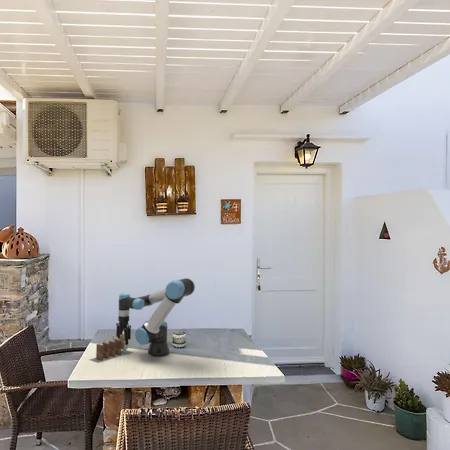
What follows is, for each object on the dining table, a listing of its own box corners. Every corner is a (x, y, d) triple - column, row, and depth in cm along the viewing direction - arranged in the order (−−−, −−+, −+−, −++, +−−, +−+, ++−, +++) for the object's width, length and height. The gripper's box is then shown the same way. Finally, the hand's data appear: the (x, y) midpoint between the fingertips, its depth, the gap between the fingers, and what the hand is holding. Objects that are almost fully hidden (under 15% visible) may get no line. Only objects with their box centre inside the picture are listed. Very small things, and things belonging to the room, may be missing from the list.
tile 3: (110, 354, 293) (110, 340, 293) (115, 356, 290) (115, 341, 290) (108, 355, 292) (108, 341, 292) (113, 356, 289) (113, 342, 289)
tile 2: (116, 353, 297) (116, 338, 297) (120, 354, 294) (121, 340, 294) (114, 353, 296) (114, 339, 296) (118, 355, 293) (119, 340, 293)
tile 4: (104, 356, 289) (104, 342, 289) (109, 358, 286) (109, 343, 286) (102, 357, 288) (102, 342, 288) (107, 358, 285) (107, 343, 285)
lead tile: (124, 350, 297) (124, 336, 297) (119, 348, 300) (120, 334, 300) (126, 349, 299) (126, 335, 298) (121, 348, 302) (122, 334, 301)
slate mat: (133, 353, 300) (133, 352, 300) (98, 363, 276) (98, 362, 276) (124, 350, 306) (124, 349, 306) (88, 360, 282) (88, 359, 282)
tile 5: (98, 358, 285) (98, 343, 285) (103, 359, 282) (103, 344, 282) (96, 359, 284) (96, 344, 284) (100, 360, 281) (101, 345, 281)
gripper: (136, 316, 297) (135, 349, 297) (119, 312, 307) (118, 344, 308) (128, 318, 291) (127, 352, 291) (111, 314, 301) (110, 346, 302)
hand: (123, 348), depth 299 cm, fingers closed on lead tile, 5 cm apart
